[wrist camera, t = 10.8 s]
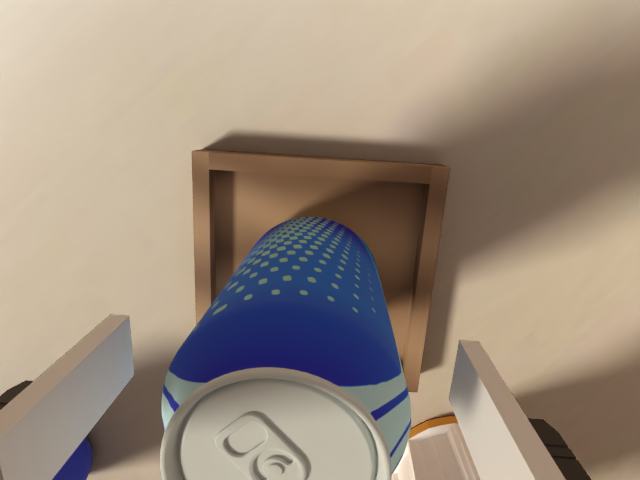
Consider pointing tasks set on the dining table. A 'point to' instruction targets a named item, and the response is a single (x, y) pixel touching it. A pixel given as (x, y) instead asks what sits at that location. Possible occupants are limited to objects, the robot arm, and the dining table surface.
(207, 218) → the tray
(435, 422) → the cup
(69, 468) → the mug
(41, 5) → the dining table surface
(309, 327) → the beer can
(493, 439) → the robot arm
